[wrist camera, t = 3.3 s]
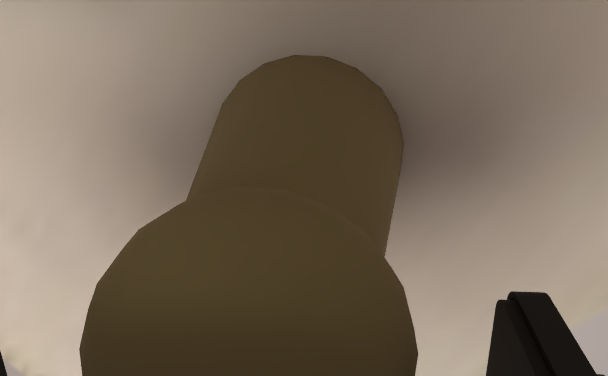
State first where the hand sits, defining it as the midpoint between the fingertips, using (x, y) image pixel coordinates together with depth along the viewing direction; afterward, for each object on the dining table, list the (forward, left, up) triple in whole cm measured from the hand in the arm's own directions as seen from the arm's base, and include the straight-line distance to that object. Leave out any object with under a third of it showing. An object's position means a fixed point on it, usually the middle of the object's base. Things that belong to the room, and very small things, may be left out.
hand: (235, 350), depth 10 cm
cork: (-1, -1, -9) cm, 9 cm away
